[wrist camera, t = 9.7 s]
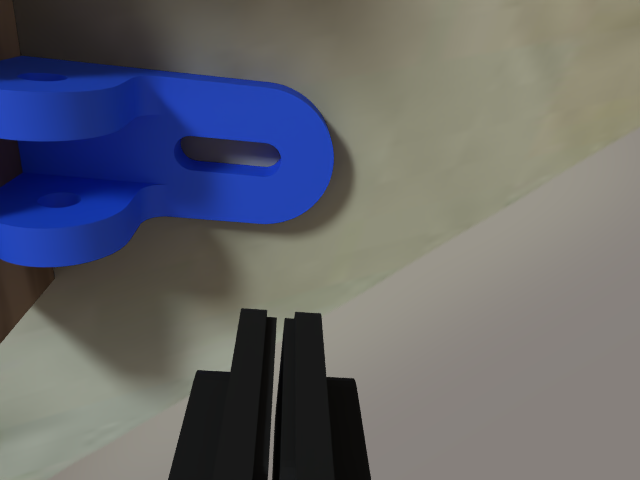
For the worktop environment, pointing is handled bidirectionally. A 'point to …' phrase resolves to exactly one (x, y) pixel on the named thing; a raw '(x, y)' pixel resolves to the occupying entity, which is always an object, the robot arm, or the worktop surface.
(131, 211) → the bracket
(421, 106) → the worktop surface
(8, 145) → the board
